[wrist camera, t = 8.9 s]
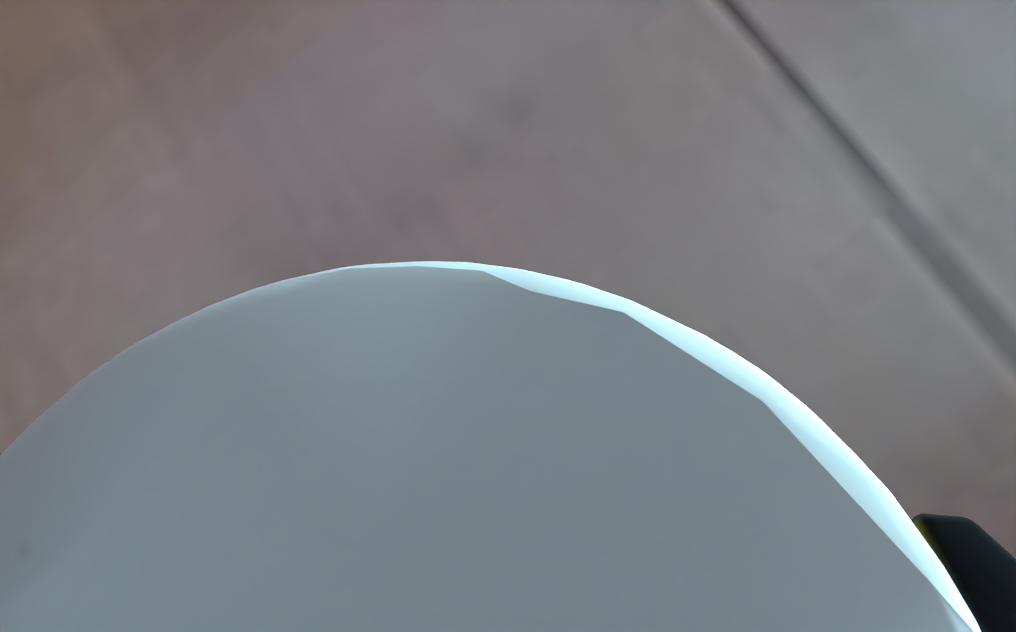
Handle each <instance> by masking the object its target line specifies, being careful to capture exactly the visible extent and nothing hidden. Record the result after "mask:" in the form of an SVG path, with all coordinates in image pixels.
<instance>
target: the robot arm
mask: <svg viewBox="0 0 1016 632" xmlns="http://www.w3.org/2000/svg"><path fill="white" fill-rule="evenodd" d="M912 523H913V524H914V525H915V527H916V528H917V530H918V531H919V532H920V534H921V535H922V537H923V538H924V539H925V541H926V542H927V543H928V545H929V546H930V548H931V549H932V550H933V552H934V553H935V555H936V556H937V557H938V559H939V560H940V562H941V563H942V564H943V566H944V568H945V569H946V571H947V573H948V574H949V576H950V578H951V579H952V581H953V583H954V584H955V586H956V588H957V589H958V591H959V593H960V595H961V596H962V598H963V600H964V601H965V603H966V605H967V606H968V608H969V610H970V611H971V613H972V615H973V616H974V618H975V620H976V622H977V624H978V626H979V628H980V630H981V632H1016V559H1015V558H1014V557H1013V556H1012V555H1011V554H1010V553H1009V552H1008V551H1006V550H1005V549H1004V548H1003V547H1002V546H1001V545H1000V544H999V543H997V542H996V541H995V540H994V539H993V538H992V537H991V536H990V535H989V534H987V533H986V532H985V531H984V530H983V529H982V528H981V527H980V526H979V525H977V524H976V523H975V522H973V521H972V520H970V519H968V518H964V517H959V516H947V515H935V514H919V515H917V516H915V517H914V518H913V519H912Z"/></svg>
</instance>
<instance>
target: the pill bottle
mask: <svg viewBox="0 0 1016 632" xmlns="http://www.w3.org/2000/svg"><path fill="white" fill-rule="evenodd" d="M0 632H981V630H980V628H979V626H978V624H977V622H976V620H975V618H974V616H973V615H972V613H971V611H970V610H969V608H968V606H967V605H966V603H965V601H964V600H963V598H962V596H961V595H960V593H959V591H958V589H957V588H956V586H955V584H954V583H953V581H952V579H951V578H950V576H949V574H948V573H947V571H946V569H945V568H944V566H943V564H942V563H941V562H940V560H939V559H938V557H937V556H936V555H935V553H934V552H933V550H932V549H931V548H930V546H929V545H928V543H927V542H926V541H925V539H924V538H923V537H922V535H921V534H920V532H919V531H918V530H917V528H916V527H915V525H914V524H913V523H912V521H911V520H910V518H909V517H908V516H907V514H906V513H905V511H904V510H903V509H902V507H901V506H900V504H899V503H898V502H897V500H896V499H895V497H894V496H893V495H892V493H891V492H890V491H889V490H888V489H887V488H886V487H885V486H884V484H883V483H882V482H881V481H880V480H879V479H878V478H877V477H876V476H875V475H874V474H873V473H872V471H871V470H870V469H869V468H868V467H867V466H866V465H865V464H864V463H863V462H862V461H861V460H860V458H859V457H858V456H857V455H856V454H855V453H854V452H853V451H852V450H851V449H850V448H849V447H848V446H847V445H846V444H845V443H844V442H843V441H842V440H841V439H840V438H839V437H838V436H837V435H836V434H835V433H834V432H833V431H832V430H831V429H830V428H829V427H828V426H827V425H826V424H825V423H824V422H823V421H822V420H821V419H820V418H819V417H818V416H817V415H816V414H814V413H813V412H812V411H811V410H810V409H809V408H808V407H807V406H806V405H805V404H803V403H802V402H801V401H800V400H798V399H797V398H796V397H795V396H793V395H792V394H791V393H790V392H789V391H787V390H786V389H785V388H784V387H782V386H781V385H780V384H779V383H777V382H776V381H775V380H774V379H773V378H771V377H770V376H769V375H767V374H766V373H764V372H763V371H762V370H760V369H759V368H757V367H756V366H754V365H753V364H751V363H750V362H748V361H747V360H745V359H744V358H742V357H740V356H739V355H737V354H736V353H734V352H733V351H731V350H729V349H727V348H726V347H724V346H722V345H720V344H719V343H717V342H715V341H714V340H712V339H710V338H709V337H707V336H705V335H703V334H701V333H699V332H697V331H695V330H692V329H690V328H688V327H686V326H684V325H682V324H680V323H678V322H676V321H674V320H672V319H669V318H667V317H665V316H663V315H661V314H659V313H657V312H655V311H652V310H650V309H648V308H646V307H644V306H642V305H640V304H638V303H636V302H633V301H631V300H628V299H626V298H623V297H620V296H617V295H614V294H611V293H608V292H605V291H602V290H599V289H596V288H593V287H590V286H588V285H585V284H581V283H577V282H574V281H570V280H567V279H563V278H558V277H554V276H549V275H544V274H540V273H535V272H531V271H526V270H522V269H516V268H508V267H500V266H492V265H485V264H477V263H469V262H441V261H428V262H400V263H382V264H367V265H359V266H351V267H343V268H336V269H332V270H327V271H323V272H318V273H314V274H309V275H305V276H300V277H295V278H291V279H286V280H283V281H279V282H276V283H272V284H269V285H266V286H262V287H259V288H255V289H252V290H249V291H247V292H244V293H241V294H239V295H236V296H233V297H231V298H228V299H226V300H223V301H220V302H218V303H215V304H213V305H210V306H208V307H206V308H204V309H201V310H199V311H197V312H195V313H193V314H191V315H189V316H187V317H184V318H182V319H180V320H178V321H176V322H174V323H172V324H170V325H168V326H166V327H165V328H163V329H161V330H159V331H157V332H155V333H153V334H152V335H150V336H148V337H146V338H144V339H142V340H140V341H139V342H137V343H135V344H133V345H131V346H129V347H128V348H127V349H125V350H124V351H122V352H121V353H119V354H118V355H116V356H115V357H113V358H112V359H110V360H109V361H108V362H106V363H105V364H103V365H102V366H100V367H99V368H97V369H96V370H94V371H93V372H91V373H90V374H89V375H87V376H86V377H84V378H83V379H82V380H81V381H80V382H79V383H77V384H76V385H75V386H74V387H73V388H72V389H70V390H69V391H68V392H67V393H66V394H65V395H63V396H62V397H61V398H60V399H59V400H58V401H56V402H55V403H54V404H53V405H52V406H51V407H49V408H48V409H47V410H46V411H45V412H44V413H42V414H41V415H40V416H39V417H38V418H37V419H35V420H34V421H33V422H32V423H31V424H30V425H29V426H28V427H27V428H26V429H25V430H24V431H23V432H22V433H21V434H20V435H19V436H18V437H17V438H16V439H15V440H14V441H13V443H12V444H11V445H10V446H9V447H8V448H7V449H6V450H5V451H4V452H3V453H2V454H1V455H0Z"/></svg>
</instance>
